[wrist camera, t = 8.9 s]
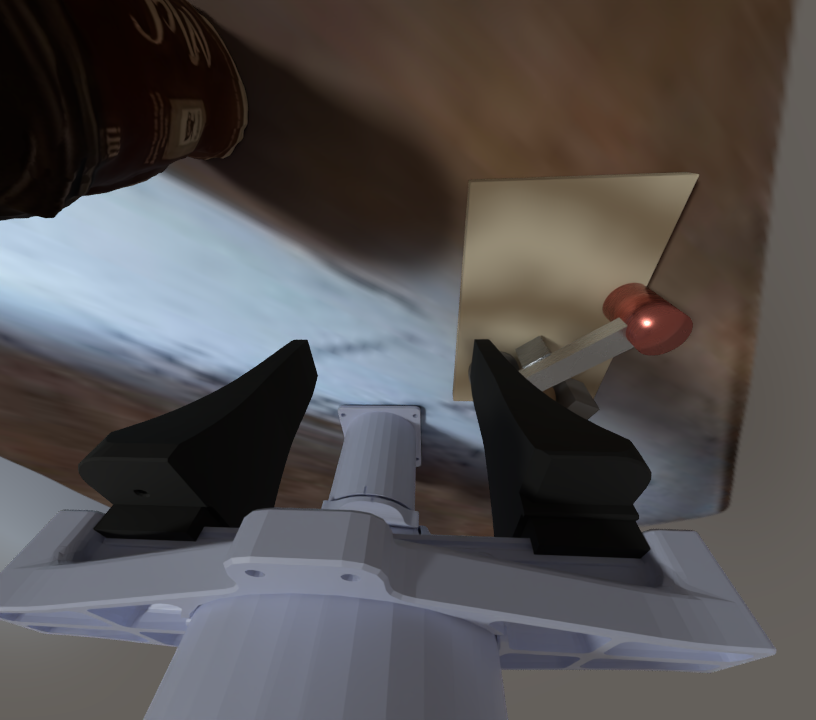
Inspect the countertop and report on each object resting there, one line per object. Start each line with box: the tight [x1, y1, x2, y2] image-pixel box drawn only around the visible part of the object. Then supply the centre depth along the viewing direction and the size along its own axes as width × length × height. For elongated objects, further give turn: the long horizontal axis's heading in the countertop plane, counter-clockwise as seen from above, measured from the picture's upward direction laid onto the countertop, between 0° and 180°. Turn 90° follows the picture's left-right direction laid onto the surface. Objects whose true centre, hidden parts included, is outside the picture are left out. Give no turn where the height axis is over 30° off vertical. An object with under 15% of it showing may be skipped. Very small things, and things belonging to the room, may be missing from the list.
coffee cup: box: [0, 0, 248, 221], centre depth 10 cm, size 9×8×13 cm
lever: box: [515, 283, 693, 391], centre depth 21 cm, size 13×3×4 cm, turn 131°
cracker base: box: [453, 172, 699, 420], centre depth 21 cm, size 18×12×4 cm, turn 2°
